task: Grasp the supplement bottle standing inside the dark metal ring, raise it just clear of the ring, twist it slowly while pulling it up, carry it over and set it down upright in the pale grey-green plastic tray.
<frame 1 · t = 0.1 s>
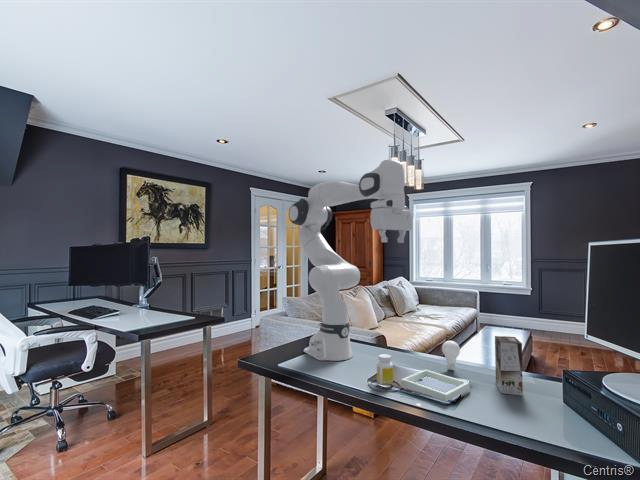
hand: (392, 242, 124), 48 cm above the table, fingers open, 8 cm apart
socket ring: (385, 385, 114), on the table
coffee box: (508, 389, 111), on the table
tray: (434, 390, 110), on the table
supplement bottle: (385, 386, 114), on the table
lightbulb: (451, 370, 128), on the table
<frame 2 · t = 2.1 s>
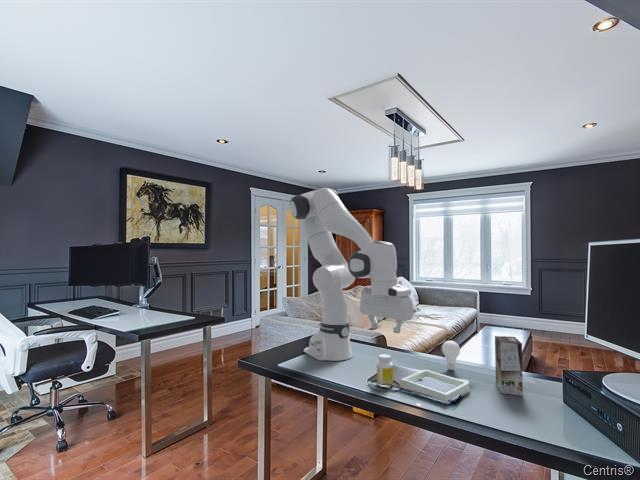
hand: (385, 330, 114), 18 cm above the table, fingers open, 8 cm apart
nothing on the table moved.
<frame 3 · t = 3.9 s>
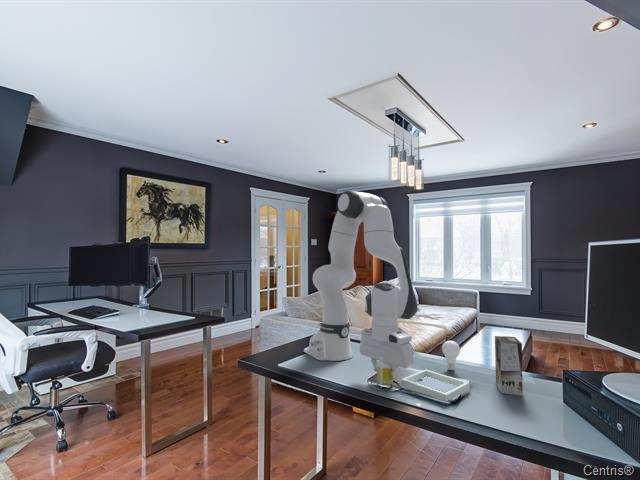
hand: (385, 374, 114), 4 cm above the table, fingers closed on supplement bottle, 5 cm apart
supplement bottle: (385, 386, 114), on the table, touching gripper
everything else where it was.
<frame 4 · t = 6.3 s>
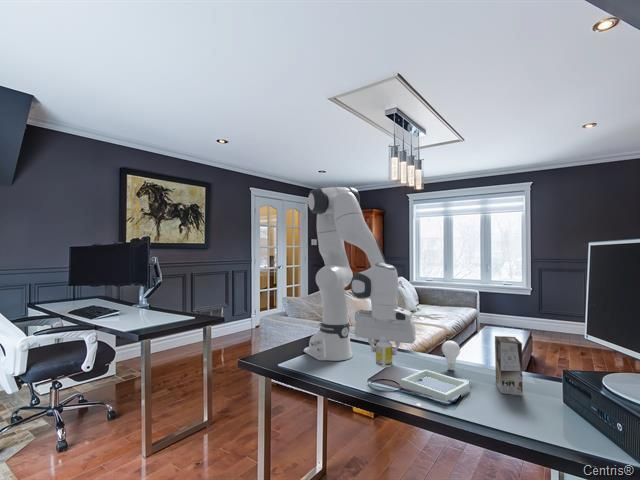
hand: (384, 353, 115), 11 cm above the table, fingers closed on supplement bottle, 5 cm apart
supplement bottle: (383, 365, 114), point 6 cm above the table, touching gripper
everything else where it was.
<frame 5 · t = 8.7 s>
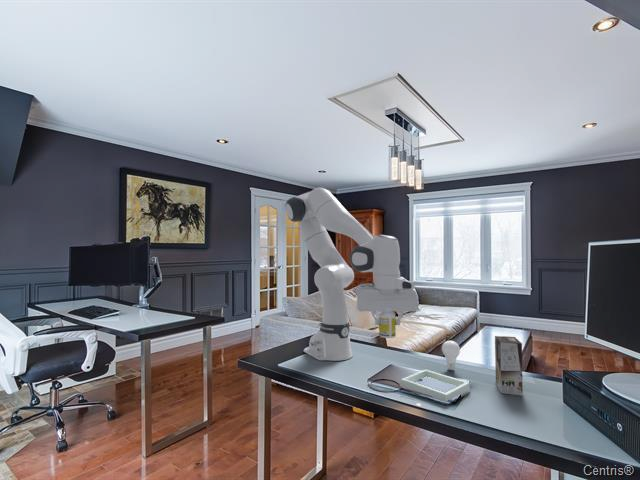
hand: (387, 324, 114), 20 cm above the table, fingers closed on supplement bottle, 5 cm apart
supplement bottle: (387, 337, 114), point 16 cm above the table, touching gripper
everything else where it was.
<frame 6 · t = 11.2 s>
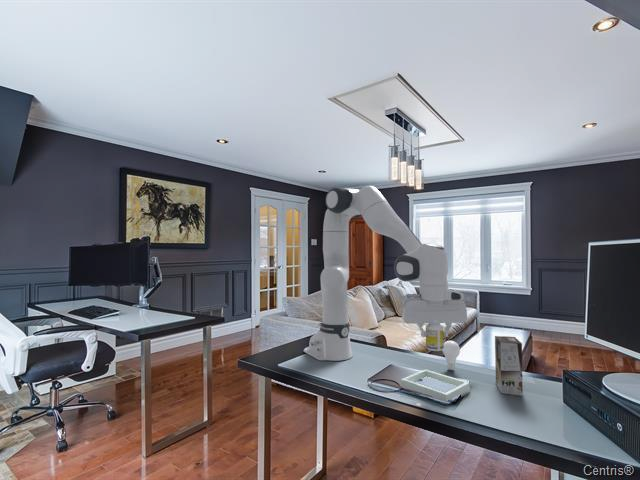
hand: (434, 336, 110), 17 cm above the table, fingers closed on supplement bottle, 5 cm apart
supplement bottle: (434, 349, 110), point 13 cm above the table, touching gripper
everything else where it was.
when the fingers open (6 cm above the table, at t = 13.5 s): supplement bottle drops 1 cm, resting on tray.
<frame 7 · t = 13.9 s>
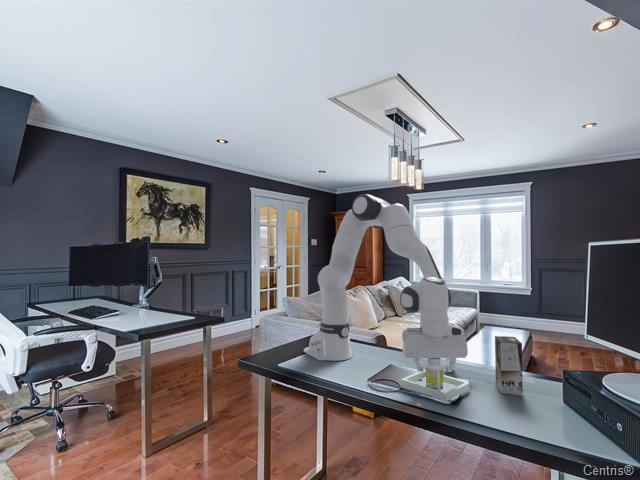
hand: (434, 371, 110), 6 cm above the table, fingers open, 8 cm apart
supplement bottle: (434, 388, 110), resting on tray
everything else where it was.
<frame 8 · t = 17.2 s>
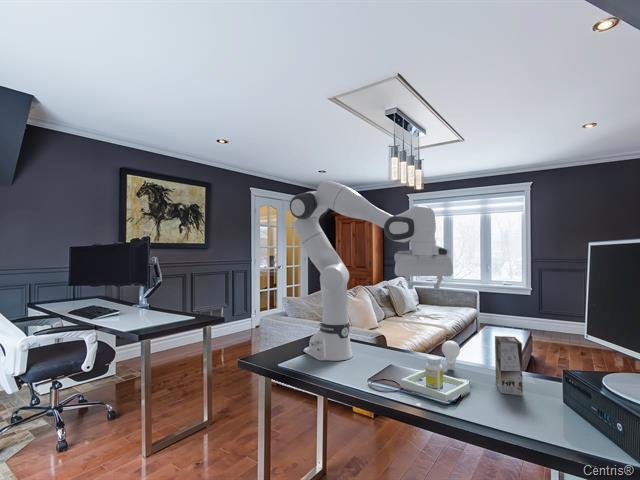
hand: (423, 288, 123), 31 cm above the table, fingers open, 8 cm apart
nothing on the table moved.
at the end: supplement bottle inside the target area on the tray (0.2 cm from its centre), point 0.4 cm above the tray's base; supplement bottle tilted 0°; the gripper is holding nothing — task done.
